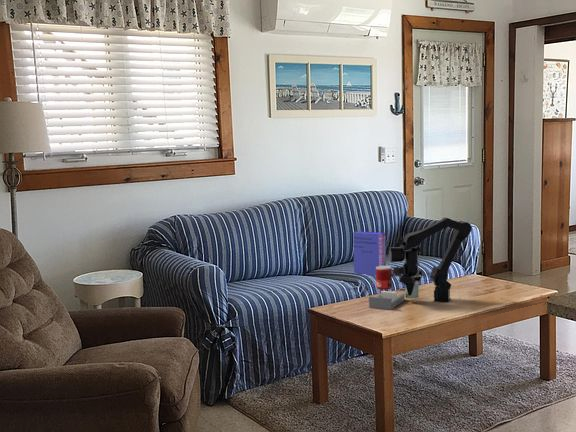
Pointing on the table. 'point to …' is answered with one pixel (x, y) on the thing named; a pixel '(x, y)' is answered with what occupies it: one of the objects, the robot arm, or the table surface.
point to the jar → (415, 291)
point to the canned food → (383, 277)
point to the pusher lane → (385, 302)
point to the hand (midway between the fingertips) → (412, 293)
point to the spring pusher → (388, 294)
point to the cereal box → (368, 252)
